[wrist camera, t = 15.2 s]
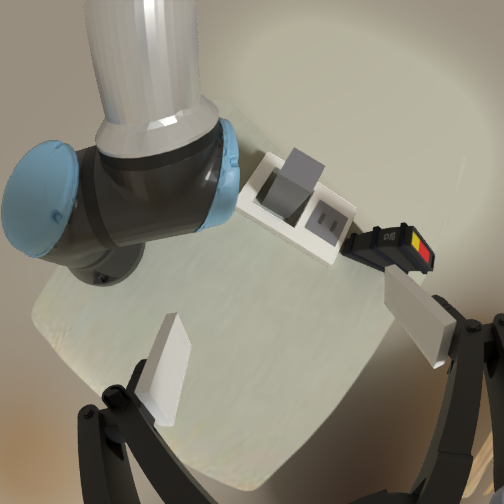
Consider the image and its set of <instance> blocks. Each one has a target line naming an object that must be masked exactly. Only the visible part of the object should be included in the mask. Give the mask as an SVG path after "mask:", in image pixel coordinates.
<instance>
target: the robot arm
mask: <svg viewBox="0 0 504 504" xmlns="http://www.w3.org/2000/svg"><path fill="white" fill-rule="evenodd" d="M83 2H84V11H85V19H86V27H87V33H88V39H89V45H90V51H91V56H92V61H93V67H94V71H95V76H96V81H97V85H98V89H99V93H100V97H101V101H102V105H103V109H104V113H105V119H104V121H103V123H102V124H101V126H100V128H99V130H98V131H97V134H96V137H95V141H96V145H95V146H92V147H88V148H85V149H82V150H79V151H76V152H75V151H74V149H73V148H72V147H71V146H70V145H68V144H65V143H62V142H61V141H58V140H51V141H46V142H43V143H41V144H38V145H37V146H35V147H34V148H32V149H31V150H30V151H29V152H28V153H27V154H25V156H24V157H23V158H22V159H21V160H20V161H19V163H18V164H17V165H16V167H15V169H14V171H13V173H12V175H11V176H10V178H9V180H8V182H7V185H6V188H5V191H4V194H3V199H2V206H1V219H2V226H3V230H4V233H5V235H6V237H7V239H8V240H9V242H10V243H11V245H12V246H13V247H15V248H16V249H18V250H20V251H21V252H23V253H25V254H26V255H28V256H29V257H32V258H39V259H43V260H46V261H49V262H53V263H56V264H60V265H63V266H67V267H68V268H69V270H70V271H71V272H72V273H73V275H74V276H76V277H77V278H78V279H79V280H81V281H83V282H85V283H87V284H90V285H95V286H111V285H115V284H117V283H119V282H121V281H123V280H124V279H126V278H127V277H128V276H129V275H130V274H131V273H132V272H133V271H134V270H135V269H136V267H137V266H138V264H139V262H140V260H141V258H142V256H143V253H144V249H145V242H147V241H152V240H157V239H162V238H167V237H173V236H178V235H183V234H188V233H197V232H200V231H201V230H203V229H206V228H210V227H214V226H218V225H221V224H223V223H225V222H226V221H227V220H228V219H229V218H230V217H231V216H232V214H233V212H234V210H235V207H236V204H237V199H238V193H239V182H240V168H239V165H238V158H239V150H238V143H237V138H236V134H235V131H234V128H233V126H232V124H231V123H230V121H228V120H227V119H222V118H220V117H219V111H218V108H217V106H216V105H215V104H214V103H213V102H212V101H210V100H209V99H207V98H206V97H204V96H203V95H201V92H200V75H199V58H198V31H197V0H83ZM385 305H386V306H387V308H388V309H389V310H390V311H391V313H392V314H393V315H394V316H395V318H396V319H397V320H398V321H399V323H400V324H401V325H402V327H403V328H404V329H405V330H406V332H407V333H408V334H409V336H410V337H411V338H412V340H413V341H414V342H415V343H416V345H417V346H418V347H419V349H420V350H421V352H422V353H423V354H424V356H425V357H426V358H427V360H428V361H429V363H430V364H431V365H432V367H433V368H437V367H439V366H441V365H443V364H445V363H446V359H447V356H448V355H449V357H450V358H451V359H452V360H451V363H450V366H449V369H448V372H447V374H448V379H447V384H446V389H445V394H444V398H443V402H442V406H441V410H440V414H439V417H438V421H437V424H436V428H435V431H434V434H433V437H432V440H431V443H430V446H429V449H428V452H427V454H426V457H425V460H424V462H423V465H422V467H421V470H420V472H419V475H418V477H417V479H416V480H415V482H414V484H413V485H412V487H411V489H410V491H409V493H401V492H395V493H394V492H393V493H387V490H386V489H385V490H382V491H379V492H377V493H374V494H371V495H368V496H364V497H361V498H359V499H357V500H355V501H353V502H351V503H349V504H459V503H460V500H461V498H462V495H463V492H464V489H465V487H466V483H467V480H468V477H469V474H470V471H471V467H472V463H473V456H472V455H471V449H472V445H473V441H474V435H475V431H476V426H477V420H478V413H479V407H480V399H481V390H482V378H483V370H484V375H485V380H486V385H487V391H488V397H489V404H490V412H491V421H492V433H493V455H494V469H493V470H494V471H493V475H494V491H495V494H494V495H493V496H492V498H491V501H490V503H489V504H504V314H502V313H500V314H497V315H496V316H495V317H494V320H493V323H490V324H485V325H482V324H481V323H480V322H479V321H477V320H473V319H468V320H466V319H465V318H464V317H463V316H462V315H461V314H460V313H459V312H458V311H457V310H456V309H455V308H453V307H452V306H451V305H450V304H448V302H447V301H446V300H445V299H444V298H442V297H440V296H438V295H433V296H430V295H429V294H428V293H427V292H426V291H425V290H424V289H422V288H421V287H420V286H419V285H418V284H417V283H416V282H415V281H414V280H412V279H411V278H410V277H409V276H408V275H407V274H406V273H404V272H403V271H402V270H401V269H400V268H399V267H398V266H396V265H395V264H394V265H391V266H387V267H385ZM191 347H192V345H191V343H190V341H189V339H188V336H187V334H186V332H185V329H184V327H183V325H182V322H181V320H180V317H179V315H178V313H171V314H166V316H165V319H164V321H163V323H162V325H161V328H160V330H159V332H158V335H157V337H156V339H155V342H154V344H153V347H152V349H151V351H150V354H149V356H148V359H142V360H141V361H140V362H139V363H138V364H137V365H136V367H135V369H134V371H133V374H132V376H131V379H130V381H129V383H128V385H127V388H126V390H125V388H124V387H123V386H122V385H118V384H117V385H112V386H110V387H108V388H107V389H106V390H105V391H104V392H103V394H102V401H103V402H104V403H105V405H106V406H107V407H108V408H106V409H102V410H99V409H98V408H97V407H96V406H95V405H92V404H90V405H86V406H84V407H83V408H82V409H81V410H80V411H79V413H78V454H79V468H80V478H81V487H82V494H83V501H84V504H141V503H140V501H139V497H138V494H137V491H136V487H135V484H134V480H133V476H132V472H131V468H130V464H129V460H128V456H127V451H126V446H125V442H126V443H127V444H128V446H129V448H130V450H131V452H132V453H133V455H134V457H135V459H136V460H137V462H138V463H139V465H140V467H141V469H142V470H143V472H144V473H145V475H146V477H147V478H148V480H149V481H150V483H151V484H152V486H153V487H154V489H155V490H156V491H157V493H158V494H159V496H160V497H161V499H162V500H163V501H164V503H165V504H218V503H217V502H216V501H215V500H214V499H213V498H212V497H211V496H210V495H209V494H208V492H207V491H206V490H205V489H204V488H203V487H202V486H201V485H200V484H199V483H198V482H197V480H196V479H195V478H194V477H193V476H192V475H191V474H190V472H189V471H188V470H187V469H186V468H185V467H184V465H183V464H182V463H181V462H180V460H179V459H178V458H177V457H176V455H175V454H174V453H173V451H172V450H171V449H170V448H169V446H168V445H167V444H166V442H165V441H164V440H163V438H162V437H161V435H160V434H159V433H158V431H157V430H156V428H155V427H154V422H155V421H156V422H157V423H158V424H159V426H174V422H175V417H176V412H177V408H178V403H179V399H180V394H181V390H182V385H183V381H184V377H185V372H186V368H187V364H188V360H189V355H190V351H191Z"/></svg>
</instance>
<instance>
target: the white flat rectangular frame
mask: <svg viewBox="0 0 504 504" xmlns="http://www.w3.org/2000/svg"><path fill="white" fill-rule="evenodd" d="M284 163H285V161H284V160H282V159H280V158H279V157H277V156H275V155H274V154H272V153H270V152H267V154H266V155H265V157H264V158H263V159H262V161H261V162H260V164H259V165H258V167H257V168H256V170H255V171H254V173H253V174H252V176H251V177H250V178H249V180H248V181H247V183H246V184H245V186H244V187H243V189H242V190H241V192H240V193H239V195H238V199H237V204H236V207H235V211H237V212H238V213H240V214H242V215H244V216H245V217H247V218H249V219H250V220H252V221H254V222H255V223H257V224H259V225H260V226H262V227H263V228H265V229H267V230H268V231H270V232H272V233H273V234H275V235H277V236H278V237H280V238H282V239H283V240H285V241H286V242H288V243H290V244H291V245H293V246H295V247H296V248H298V249H299V250H301V251H303V252H304V253H306V254H307V255H309V256H311V257H312V258H314V259H315V260H317V261H319V262H320V263H322V264H323V265H325V266H327V267H329V266H332V265H333V263H334V261H335V259H336V256H337V254H338V252H339V250H340V248H341V246H342V243H343V241H344V239H345V237H346V235H347V232H348V230H349V228H350V226H351V223H352V221H353V219H354V216H355V214H356V212H357V208H356V207H355V206H354V205H352V204H351V203H349V202H348V201H346V200H345V199H343V198H342V197H341V196H339V195H338V194H336V193H335V192H333V191H332V190H330V189H329V188H327V187H325V186H324V185H322V184H321V183H319V182H318V181H317V183H316V185H315V187H314V189H313V191H312V193H311V194H310V195H311V196H310V198H309V199H308V201H307V203H306V205H305V207H304V209H303V210H302V212H301V214H300V216H299V218H298V220H297V221H296V223H295V225H294V227H292V226H290V225H289V224H287V223H286V222H284V221H282V220H281V219H279V218H277V217H276V216H274V215H272V214H271V213H269V212H268V211H266V210H264V209H263V208H261V207H259V206H258V205H256V204H254V203H253V201H254V200H255V198H256V197H257V195H258V194H259V192H260V190H261V189H262V187H263V186H264V184H265V183H266V181H267V180H268V178H269V177H270V175H271V173H272V172H274V173H276V174H278V173H279V172H280V170H281V168H282V167H283V165H284Z"/></svg>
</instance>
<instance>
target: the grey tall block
mask: <svg viewBox="0 0 504 504" xmlns="http://www.w3.org/2000/svg"><path fill="white" fill-rule="evenodd" d="M324 167H325V166H324V165H323V164H321V163H319V162H318V161H316V160H314V159H313V158H311V157H310V156H308V155H306V154H304V153H303V152H301V151H299V150H298V149H296V148H294V149H293V150H292V152H291V154H290V155H289V157H288V158H287V160H286V162H285V163H284V165H283V167H282V168H281V170H280V172H279V173H278V175H277V177H276V179H275V181H274V183H273V185H272V186H271V188H270V190H269V192H268V194H267V196H266V198H265V200H264V201H263V203H262V205H263V206H265V207H267V208H268V209H270V210H272V211H273V212H275V213H277V214H279V215H280V216H282V217H284V218H285V219H288V218H289V217H290V216H291V215H292V214H293V213H294V212H295V211H296V210H297V209H298V207H299V206H300V205H301V204H302V203H303V202H304V201H305V200H306V199H307V198H308V197H309V195H310V194H311V193H312V191H313V189H314V187H315V185H316V183H317V181H318V179H319V177H320V175H321V173H322V171H323V169H324Z"/></svg>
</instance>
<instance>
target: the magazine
mask: <svg viewBox="0 0 504 504" xmlns="http://www.w3.org/2000/svg"><path fill="white" fill-rule="evenodd" d="M342 255H343V256H346V257H348V258H350V259H353V260H355V261H358V262H360V263H363V264H365V265H367V266H370V267H372V268H375V269H377V270H379V271H382V272H384V273H385V267H387V266H391V265H394V264H395V265H396V266H398V267H399V268H400V269H401V270H402V271H403V272H404V273H406V274H408V272H409V271H421V272H422V273H423V274H427V272H428V271H433V268H434V260H435V254H434V252H433V251H432V250H431V248H430V247H429V245H428V244H427V243H426V241H425V240H424V239H423V237H422V236H421V235H420V233H419V232H418V231H417V229H416V228H415V227H414V226H408V225H407V224H406V223H401V226H400V227H392V228H386V229H381V228H380V227H379V226H376V227H373V231H370V232H366V233H362V234H359V235H358V234H356V233H352V234H351V237H350V238H349V239H347V240H346V241H345V245H344V249H343V253H342Z"/></svg>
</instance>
